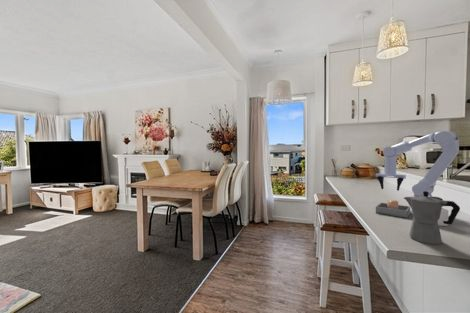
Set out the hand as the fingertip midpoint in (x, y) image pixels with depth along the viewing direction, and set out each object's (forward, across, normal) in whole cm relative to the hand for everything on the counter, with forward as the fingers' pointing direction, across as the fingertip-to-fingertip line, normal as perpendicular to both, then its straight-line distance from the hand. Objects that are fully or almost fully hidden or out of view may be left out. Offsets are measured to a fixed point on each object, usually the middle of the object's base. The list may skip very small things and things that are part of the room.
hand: (390, 189), depth 127 cm
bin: (+10, +4, -16) cm, 20 cm away
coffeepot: (+10, +20, -50) cm, 55 cm away
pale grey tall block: (+10, +20, -23) cm, 32 cm away
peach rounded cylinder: (+9, +4, -17) cm, 19 cm away
